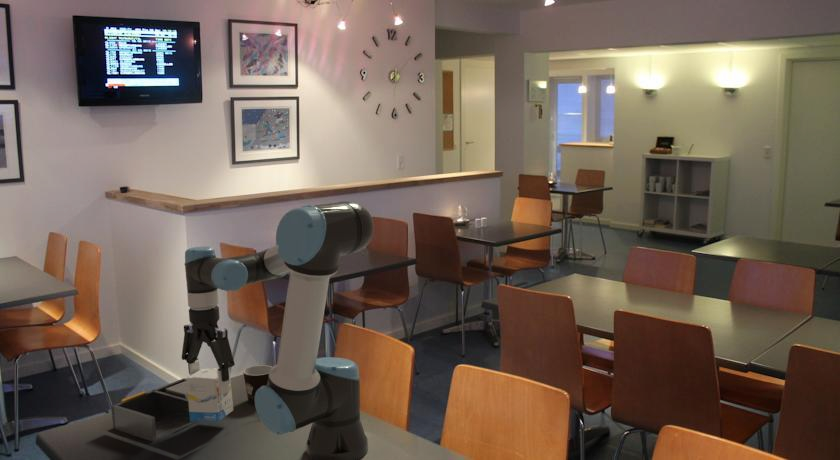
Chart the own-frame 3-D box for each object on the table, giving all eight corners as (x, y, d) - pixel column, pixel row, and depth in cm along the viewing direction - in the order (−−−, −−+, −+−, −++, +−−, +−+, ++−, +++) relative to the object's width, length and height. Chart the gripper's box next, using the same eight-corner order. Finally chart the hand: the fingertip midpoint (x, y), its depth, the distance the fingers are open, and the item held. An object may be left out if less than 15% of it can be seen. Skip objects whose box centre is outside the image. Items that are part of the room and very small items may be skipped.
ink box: (218, 422, 189) (214, 378, 187) (189, 421, 191) (184, 377, 189) (234, 410, 197) (230, 367, 196) (206, 409, 199) (202, 367, 198)
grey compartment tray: (224, 412, 206) (222, 386, 205) (153, 444, 186) (151, 416, 185) (184, 400, 215) (183, 376, 214) (112, 431, 195) (110, 403, 194)
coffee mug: (242, 400, 215) (240, 367, 213) (271, 395, 218) (269, 363, 217) (250, 415, 204) (248, 380, 203) (281, 409, 208) (279, 375, 206)
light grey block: (209, 408, 207) (207, 384, 206) (186, 418, 200) (185, 394, 199) (189, 403, 211) (188, 379, 210) (167, 412, 204) (165, 388, 203)
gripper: (245, 307, 187) (251, 391, 190) (185, 299, 199) (191, 378, 202) (223, 314, 181) (229, 401, 184) (162, 305, 193) (169, 387, 196)
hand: (209, 389), depth 193 cm, fingers closed on ink box, 10 cm apart
